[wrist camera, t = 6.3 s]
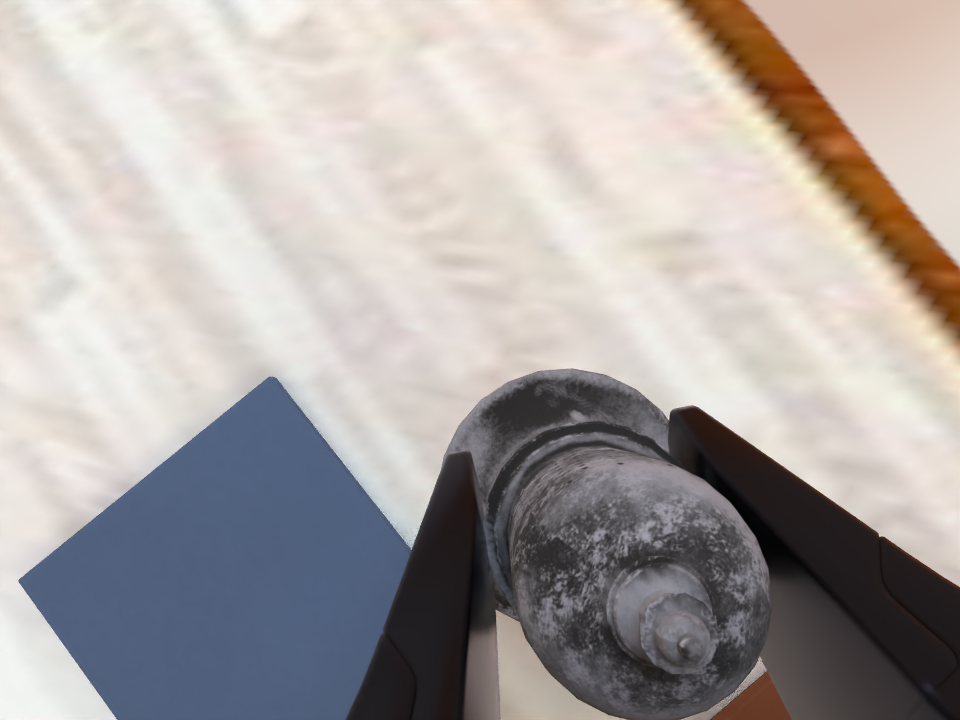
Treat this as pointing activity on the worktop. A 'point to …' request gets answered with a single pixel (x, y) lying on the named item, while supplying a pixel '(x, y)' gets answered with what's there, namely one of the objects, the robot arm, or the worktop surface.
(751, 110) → the worktop surface
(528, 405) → the grey chess piece
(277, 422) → the blue mat
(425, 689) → the robot arm
